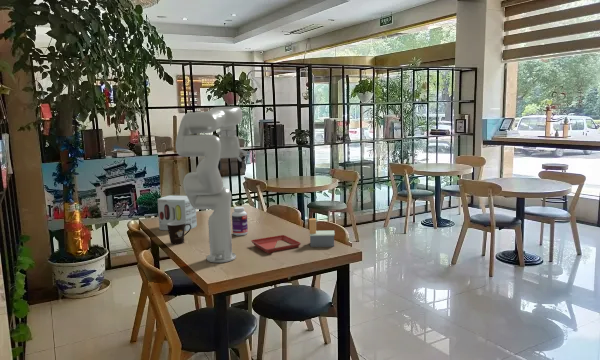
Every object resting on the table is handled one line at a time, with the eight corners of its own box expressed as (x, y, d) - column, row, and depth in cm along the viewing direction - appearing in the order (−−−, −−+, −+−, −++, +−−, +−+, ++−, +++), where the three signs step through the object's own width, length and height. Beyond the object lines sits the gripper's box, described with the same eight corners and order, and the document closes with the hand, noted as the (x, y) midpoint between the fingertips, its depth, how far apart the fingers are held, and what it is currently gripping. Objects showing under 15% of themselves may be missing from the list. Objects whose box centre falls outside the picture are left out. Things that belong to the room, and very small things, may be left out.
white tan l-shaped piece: (334, 236, 207) (334, 220, 206) (309, 236, 208) (309, 220, 207) (334, 232, 215) (334, 217, 214) (310, 232, 216) (309, 217, 215)
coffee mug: (168, 245, 221) (167, 226, 219) (168, 241, 229) (167, 222, 227) (192, 243, 224) (191, 223, 222) (192, 239, 232) (190, 220, 231)
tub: (334, 248, 208) (333, 235, 208) (310, 248, 209) (310, 235, 208) (334, 244, 215) (333, 231, 214) (311, 244, 216) (310, 232, 215)
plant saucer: (301, 249, 209) (301, 242, 209) (266, 256, 200) (266, 248, 200) (283, 241, 225) (283, 234, 224) (250, 246, 216) (250, 240, 216)
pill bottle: (245, 236, 235) (243, 209, 233) (230, 236, 237) (229, 209, 235) (249, 232, 243) (248, 206, 241) (235, 232, 244) (234, 206, 243)
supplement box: (158, 230, 254) (156, 199, 251) (170, 225, 266) (168, 195, 264) (186, 231, 250) (184, 199, 247) (197, 226, 262) (195, 195, 260)
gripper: (208, 134, 211) (210, 171, 213) (245, 133, 210) (246, 170, 212) (212, 134, 218) (214, 169, 220) (247, 133, 217) (249, 168, 219)
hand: (230, 169), depth 216 cm, fingers open, 9 cm apart
